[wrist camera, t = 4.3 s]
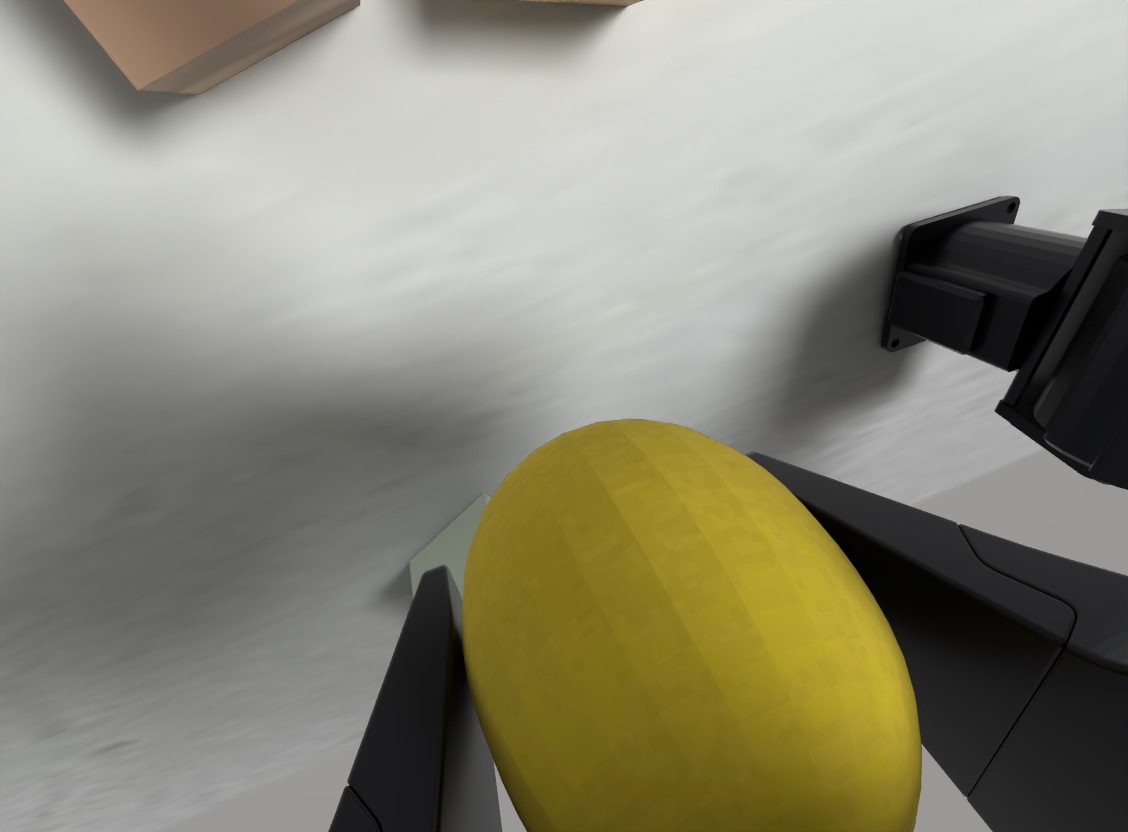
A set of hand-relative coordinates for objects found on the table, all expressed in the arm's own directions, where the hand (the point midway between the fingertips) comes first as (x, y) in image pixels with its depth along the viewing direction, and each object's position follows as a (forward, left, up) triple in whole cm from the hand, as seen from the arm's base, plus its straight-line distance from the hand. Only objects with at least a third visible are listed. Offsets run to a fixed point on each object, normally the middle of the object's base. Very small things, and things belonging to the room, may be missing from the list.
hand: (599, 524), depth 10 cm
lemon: (0, 0, -2) cm, 2 cm away
